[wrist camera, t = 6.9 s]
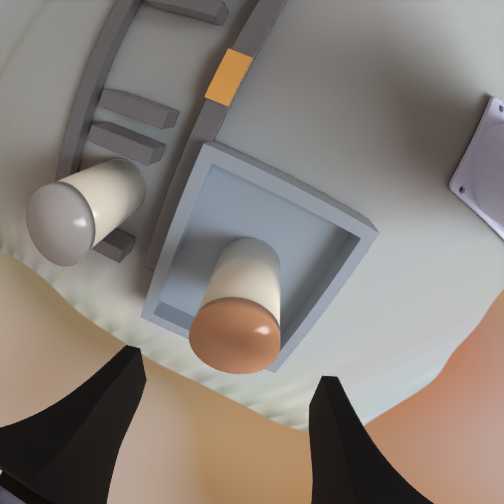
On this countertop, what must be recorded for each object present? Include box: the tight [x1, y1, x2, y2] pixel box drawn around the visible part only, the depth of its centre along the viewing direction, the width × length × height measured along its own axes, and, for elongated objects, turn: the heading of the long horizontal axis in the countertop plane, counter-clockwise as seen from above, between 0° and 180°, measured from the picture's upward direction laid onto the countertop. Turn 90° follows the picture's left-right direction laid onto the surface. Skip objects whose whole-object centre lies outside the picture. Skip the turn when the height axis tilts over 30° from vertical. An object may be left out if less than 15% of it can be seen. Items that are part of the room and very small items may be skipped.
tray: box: [141, 140, 379, 372], centre depth 19 cm, size 11×13×2 cm
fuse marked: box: [189, 238, 281, 374], centre depth 16 cm, size 4×4×7 cm
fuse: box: [26, 158, 145, 266], centre depth 15 cm, size 4×4×7 cm
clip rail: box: [55, 0, 288, 271], centre depth 13 cm, size 10×26×2 cm, turn 154°
